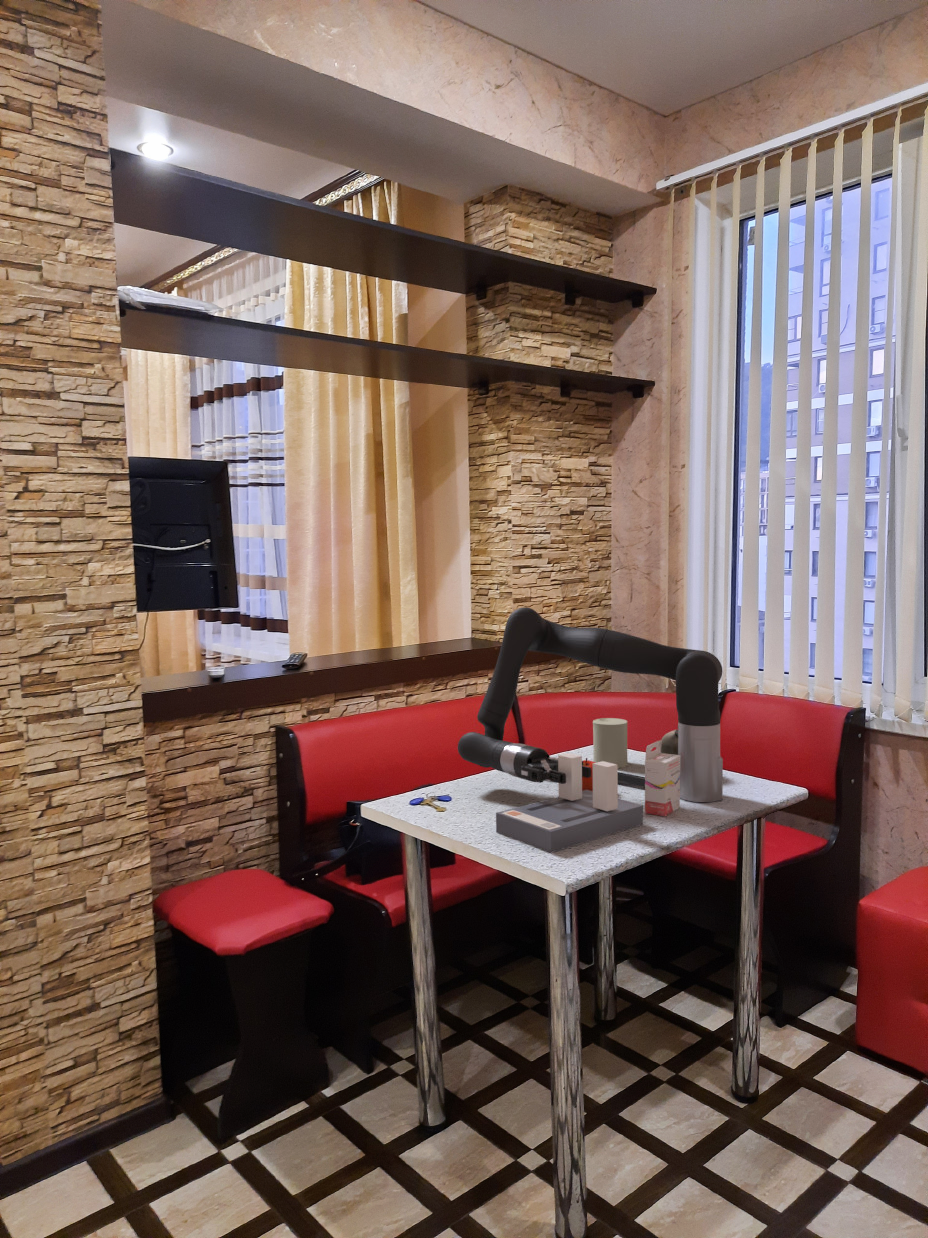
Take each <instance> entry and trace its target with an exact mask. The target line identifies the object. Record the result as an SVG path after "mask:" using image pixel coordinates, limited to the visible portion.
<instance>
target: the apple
mask: <svg viewBox="0 0 928 1238" xmlns="http://www.w3.org/2000/svg"><path fill="white" fill-rule="evenodd" d="M582 761H583V766H587V767H590V768H591V777H590V778H586V777H582V791H584V790H590V791H593V763H596V762H593V760H588V757H586V758H585V759H584V760H583V759H582Z"/></svg>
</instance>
